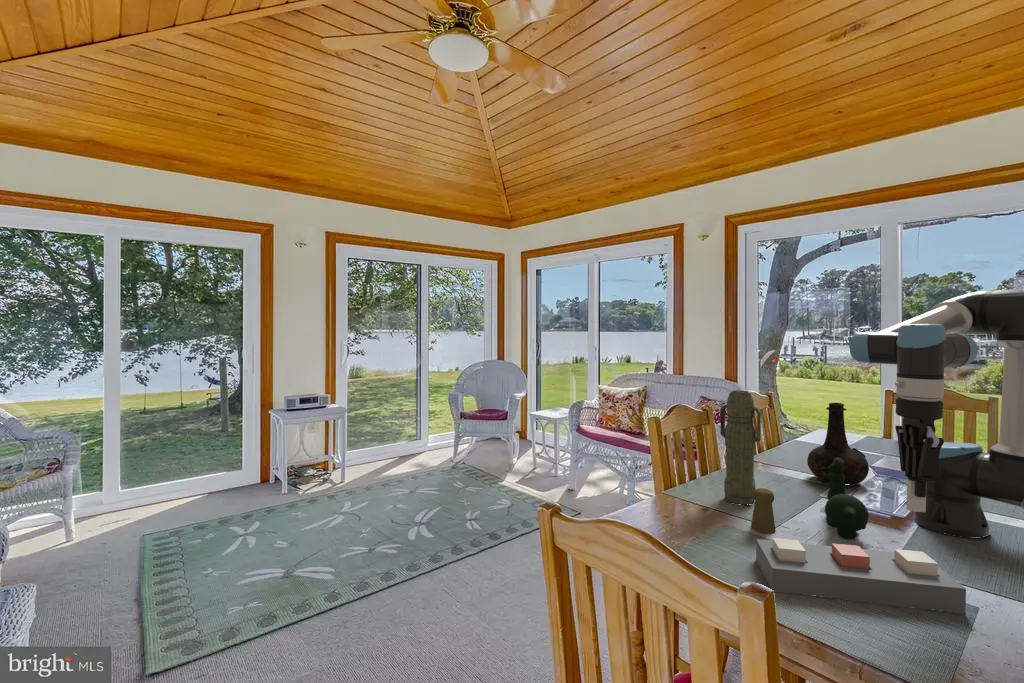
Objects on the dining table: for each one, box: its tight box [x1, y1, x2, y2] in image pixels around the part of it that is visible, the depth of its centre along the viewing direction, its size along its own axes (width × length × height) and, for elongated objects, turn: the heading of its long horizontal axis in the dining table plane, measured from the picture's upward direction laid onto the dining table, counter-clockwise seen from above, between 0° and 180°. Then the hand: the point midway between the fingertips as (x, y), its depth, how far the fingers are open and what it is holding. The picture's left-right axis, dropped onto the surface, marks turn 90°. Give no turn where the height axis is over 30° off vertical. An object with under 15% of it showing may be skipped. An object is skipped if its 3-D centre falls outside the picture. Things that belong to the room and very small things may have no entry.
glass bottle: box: [807, 402, 870, 486], centre depth 169 cm, size 18×18×28 cm
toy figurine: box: [824, 458, 870, 540], centre depth 131 cm, size 9×19×25 cm
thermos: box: [719, 390, 762, 505], centre depth 152 cm, size 9×12×35 cm
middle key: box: [831, 543, 870, 570], centre depth 104 cm, size 5×5×4 cm
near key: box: [894, 548, 939, 576], centre depth 101 cm, size 5×5×4 cm
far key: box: [772, 537, 806, 563], centre depth 107 cm, size 5×5×4 cm
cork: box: [750, 487, 776, 535], centre depth 132 cm, size 6×6×11 cm
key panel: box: [755, 538, 967, 615], centre depth 104 cm, size 34×14×5 cm, turn 76°
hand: (915, 510), depth 100 cm, fingers closed
